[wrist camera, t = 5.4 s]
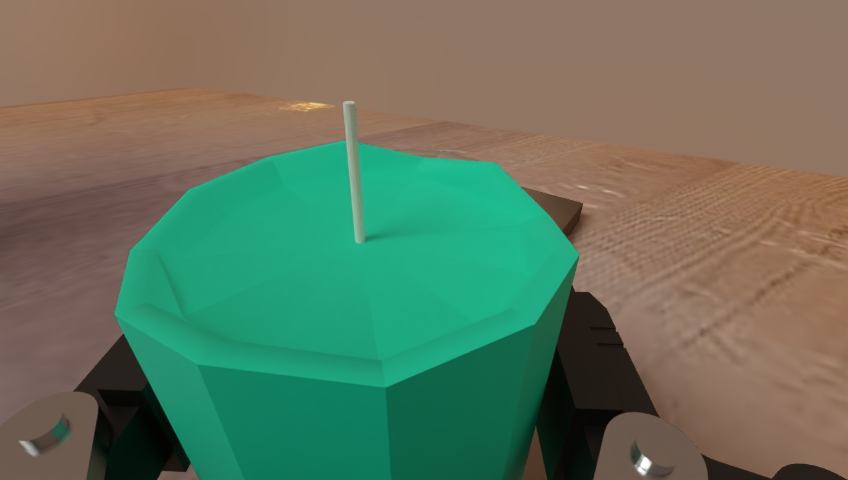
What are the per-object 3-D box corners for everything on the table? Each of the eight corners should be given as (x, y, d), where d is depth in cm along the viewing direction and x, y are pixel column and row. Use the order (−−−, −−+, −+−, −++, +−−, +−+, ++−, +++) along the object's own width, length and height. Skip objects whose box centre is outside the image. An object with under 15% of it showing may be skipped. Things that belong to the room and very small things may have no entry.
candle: (466, 762, 8) (640, 326, 2) (219, 636, 10) (-145, 159, 3) (510, 475, 13) (603, 73, 7) (339, 420, 15) (279, 49, 8)
